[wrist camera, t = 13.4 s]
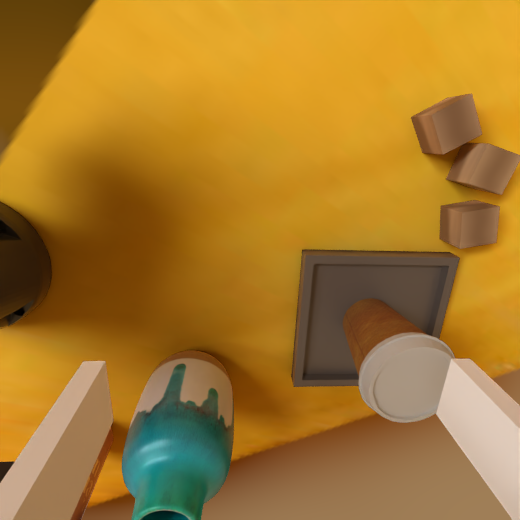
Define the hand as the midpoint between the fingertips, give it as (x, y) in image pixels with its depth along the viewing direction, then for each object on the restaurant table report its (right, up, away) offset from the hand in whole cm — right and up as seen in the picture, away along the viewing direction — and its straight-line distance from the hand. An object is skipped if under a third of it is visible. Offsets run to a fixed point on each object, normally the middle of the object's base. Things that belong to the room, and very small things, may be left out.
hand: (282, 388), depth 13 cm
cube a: (+22, +10, +27) cm, 36 cm away
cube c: (+18, +19, +23) cm, 35 cm away
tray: (+13, -2, +30) cm, 33 cm away
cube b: (+22, +15, +25) cm, 37 cm away
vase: (-10, -10, +32) cm, 34 cm away
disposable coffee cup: (+13, -3, +30) cm, 32 cm away
